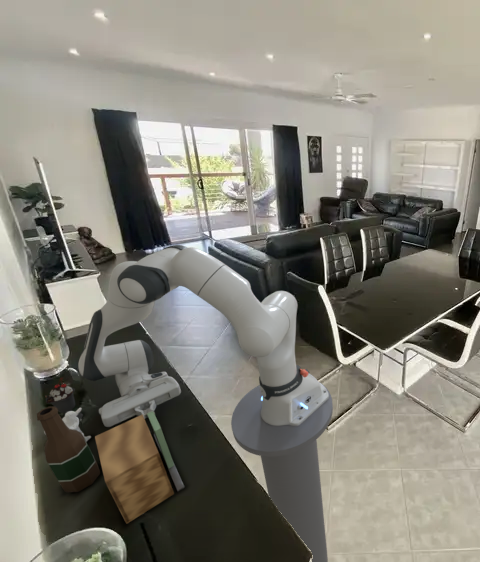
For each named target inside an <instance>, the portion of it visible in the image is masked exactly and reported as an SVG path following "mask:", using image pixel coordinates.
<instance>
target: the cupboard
mask: <svg viewBox="0 0 480 562" xmlns="http://www.w3.org/2000/svg"><path fill="white" fill-rule="evenodd" d="M153 437H154V438H153ZM154 439H155V440H154ZM94 440H95V444H96V449H97V452H98V457H99V461H100V466H101V470H102V475H103V480H104V483H105V485H106V488H107V489H108V490H109V493H110V495H111V496H112V499H113V500H114V502H115V505H116V507H117V508H118V511H119V512H120V514H121V516H122V518H123V520H124V522H125V524H127V525H128V524H129V523H130V522H132V521H134V520H135V519H137V518H138V517H140V516H142V515H143V514H145V513H146V512H147V511H150V510H152V509H153V508H154V507H156V506H158V505H159V504H161V503H162V502H164V501H166V500H167V499H169V498H170V497H171V496H173V495H175V492H174V489H173V488H172V484H171V482H170V478H169V475H170V477H171V480H172V481H173V482H172V483H173V484H174V487H175V489H176V491H177V492H180V491H182V490H183V489H184V488H185V485H184V482H183V481H182V478H181V476H180V474H179V472H178V469H177V467H176V465H175V463H174V461H173V463H174V466H173V467H171V468H168V466H167V464H166V461H165V459H164V457H163V454H162V452H161V450H160V447H159V444H158V442H157V439H156V436H155V434H154V433H153V436H152V434H151V431H150V428H149V426H148V424H147V421H146V418H145V419H144V417H143V414H142V415H140V416H136V417H134V418H132V419H129V420H127V421H124V422H123V423H121V424H119V425H116V426H115V427H112V428H110V429H108V430H106V431H103V432H101V433H100V434H97V435H95V436H94ZM155 442H156V443H155ZM156 444H157V446H158V447H157V446H156ZM158 448H159V450H158ZM159 451H160V453H159ZM160 454H161V455H162V458H163V461H164V462H165V466H166V467H167V470H168V472H169V475H168V474H167V470H166V468H165V466H164V463H163V461H162V458H161V455H160Z"/></svg>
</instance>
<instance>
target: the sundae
mask: <svg viewBox="0 0 480 562" xmlns="http://www.w3.org/2000/svg"><path fill="white" fill-rule="evenodd" d="M63 379H64V377H60V378H59V381H58V383H57V384H55V385H54V387H53V388H52V389H50V392H49V395H44V397H45V403H46V404H51V405H52V407H53V406H55V407H56V408H57V409H58V413H60V414H66V413H67V412H69V411H73V410H74V408H75V407H76V400H75V396H74V393H75V391H76V388H74V387H71V386H68V385H67V384H66V383H63ZM60 382H61V385H60ZM76 417H78V419H79V421H80V420H81V419H82V418H83V417H84V414H83V413H82V412H79V413H78V415H77V416H76Z"/></svg>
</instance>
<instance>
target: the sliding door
mask: <svg viewBox="0 0 480 562" xmlns="http://www.w3.org/2000/svg"><path fill="white" fill-rule="evenodd" d="M154 412H155V411H154ZM154 412H153V411H152V412H150V413H147V415H148V417H147V418H148V420H149V423H150V426H151V429H152V431H153V434H155V436H156V439H157V442H158V444H159V446H158V448H159V447H160V449H159V451H160V450H161V451H160V453H161V452H162V453H161V455H162V454H163V456H162V458H163V457H164V458H163V460H164V459H165V460H164V462H165V461H166V463H165V465H166V464H167V465H166V467H167V466H168V467H167V469H168V468H171V467H173V466H174V465H175V463H173V462H174V460H173V457H172V455H171V451H170V449H169V446H168V444H167V441H166V439H165V436H164V433H163V430H162V427H161V424H160V423H159V421H158V419H157V417H156V413H155V414H154ZM156 439H155V440H156ZM157 442H156V443H157ZM158 444H157V445H158Z"/></svg>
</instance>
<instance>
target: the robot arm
mask: <svg viewBox="0 0 480 562" xmlns="http://www.w3.org/2000/svg"><path fill="white" fill-rule="evenodd" d="M179 287H183V288H185V289H187V290H189V291H190V292H192V293H193V294H194V295H195V296H196V297H198V298H200V299H202V300H203V301H205V302H206V303H207V304H209V305H210V306H212V307H213V308H214V309H216V310H217V311H218V312H219V313H221V314H222V315H223V316H224V317H225V318H226V319H227V321H228V322H229V323H230V324H231V326H232V327H233V329H234V330H235V333H236V337H237V340H238V346H239V347H240V349H241V350H242V351H243V352H244V353H245V354H247V355H249V356H251V357H254V358H256V362H257V367H258V373H259V374H258V375H259V377H258V383H259V385H260V391H261V394H262V398H261V400H262V409H261V417H262V419H263V420H264V421H265V422H266V423H268V424H270V425H274V426H283V425H292V426H298V425H300V424H301V423H302V422H303V421H304V420H306V419H307V418H308V417H309V416H310V415H311V414H312V413H313V412H314V411H316V410H317V409H318V408H319V407H320V406H321V405H322V404H323V403H324V402H325V401H327V400H328V398H329V394H328V391H329V390H328V391H327V389H328V388H327V387H326V386H325V385H324V384H323V383H321V382H320V381H319V380H318V379H317V378H316V377H315V376H314V375H312V374H311V373H310V371H309V369H308V368H303V369H302V367H301V366H300V365H298V364H297V362H296V361H297V359H296V335H297V313H298V305H299V304H298V301H297V299H296V297H295V296H294V295H293V294H292V293H290V292H289V291H285V290H276V291H274V292H273V293H270V294H269V295H268V296H266V297H264V299H263V300H262V301H260V300H259V299H258V298H257V297H256V295H255V294H254V292H253V290H252V286H251V283H250V281H249V280H248V279H246V278H245V277H243V276H242V275H241V274H240V273H238V272H237V271H235V270H234V269H232V267H229V266H228V265H227V264H226V263H224V262H223V261H222V260H219V259H218V258H216V257H214V256H213V255H211V254H209V253H207V252H206V251H204V250H201V249H199V248H197V247H192V246H191V247H187V246H185V245H182V244H173V245H168V246H166V247H164V248H162V249H160V250H158V251H156V252H154V253H151V254H148V255H146V256H145V257H142V258H141V259H139V260H138V261H136V260H128V261H123V262H120V263H118V264H116V265H115V266H114V267H113V269H112V270H111V274H110V277H109V282H108V289H107V300H106V302H105V304H104V305H103V306H102V307H100V309H97V310H95V312H93V314H92V315H91V319H90V322H89V325H88V329H87V333H86V337H85V340H84V345H83V349H82V352H81V354H80V357H79V360H78V365H77V367H78V371H79V374H80V377H82V378H84V379H86V380H89V381H92V382H96V381H100V380H103V379H105V378H109V377H111V376H114V380H115V383H116V386H117V388H118V390H119V394H120V397H118V398H115V399H113V400H111V401H109V402H106V403H105V404H103V406H101V407H100V408H98V414H99V415H100V418H101V422H102V423H103V425H104V427H106V428H110V427H113V426H115V425H117V424H120V423H122V422H125V421H126V420H128V419H130V418H133V417H135V416H136V417H138V416H140V415H142V414H143V417H144V419H145V420H146V419H147V418H148V415H147V413H150V412H152V411H153V412H154V414H155V415H156V412H155V410H156V408H157V406H159V405H161V404H164V403H166V402H168V401H169V400H172V399H173V398H176V397H179V396H180V395H181V393H182V390H181V386H180V384H179V382H178V381H177V380H176V379H175V378H174V377H172V376H169V375H168V373H167V372H166V371H161V372H156V373H151V374H149V372H150V371H151V370H152V368H153V366H154V361H155V359H154V353H153V350H152V348H151V346H150V344H148V343H147V342H146V341H145V340H142V339H136V340H131V341H126V342H122V343H116V344H111V345H110V344H109V345H106V346H105V343H106V340H107V338H108V336H110V335H111V334H113V333H115V332H118V331H119V330H122V329H124V328H127V327H131V326H134V325H136V324H139V323H140V322H143V321H145V319H147V318H148V317H149V316H150V315H151V314H152V312H153V310H154V307H155V302H156V301H158V300H160V299H161V298H163V297H164V296H166V295H168V294H169V293H170V292H172V291H173V290H175V289H177V288H179ZM322 384H323V385H324V386H325V387H326V388H327V389H326V388H325V387H324V386H323V385H322ZM299 419H300V420H299Z"/></svg>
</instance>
